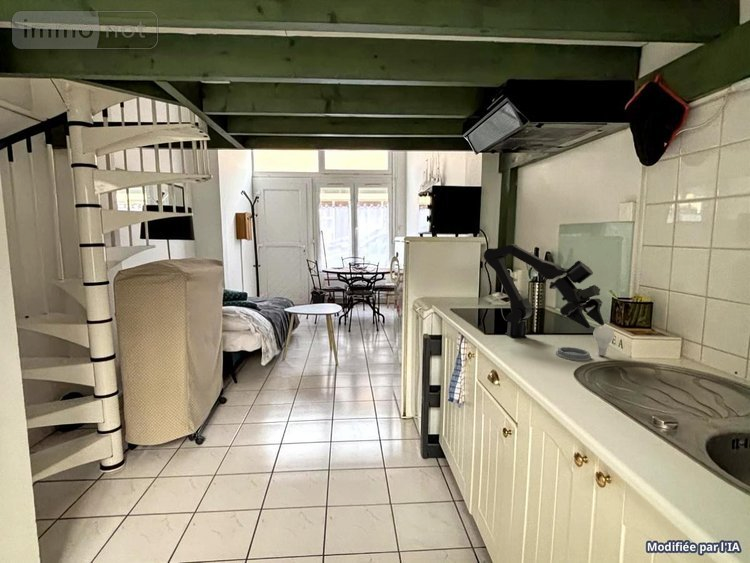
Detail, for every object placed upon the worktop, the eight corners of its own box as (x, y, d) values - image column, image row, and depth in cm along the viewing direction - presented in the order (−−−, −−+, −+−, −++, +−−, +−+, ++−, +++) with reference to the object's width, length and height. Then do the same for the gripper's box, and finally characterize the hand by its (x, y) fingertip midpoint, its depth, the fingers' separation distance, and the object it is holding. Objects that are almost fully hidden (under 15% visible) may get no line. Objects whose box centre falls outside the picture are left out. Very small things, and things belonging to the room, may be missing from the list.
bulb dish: (566, 361, 132) (567, 355, 132) (549, 351, 143) (550, 346, 143) (598, 361, 133) (598, 355, 133) (578, 351, 144) (579, 346, 144)
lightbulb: (616, 359, 136) (619, 327, 135) (597, 358, 136) (600, 327, 135) (605, 353, 142) (608, 323, 141) (587, 353, 142) (590, 323, 141)
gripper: (570, 278, 138) (600, 315, 130) (599, 276, 148) (628, 310, 140) (548, 298, 145) (575, 334, 137) (577, 294, 155) (603, 328, 147)
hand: (596, 326), depth 140 cm, fingers open, 9 cm apart
